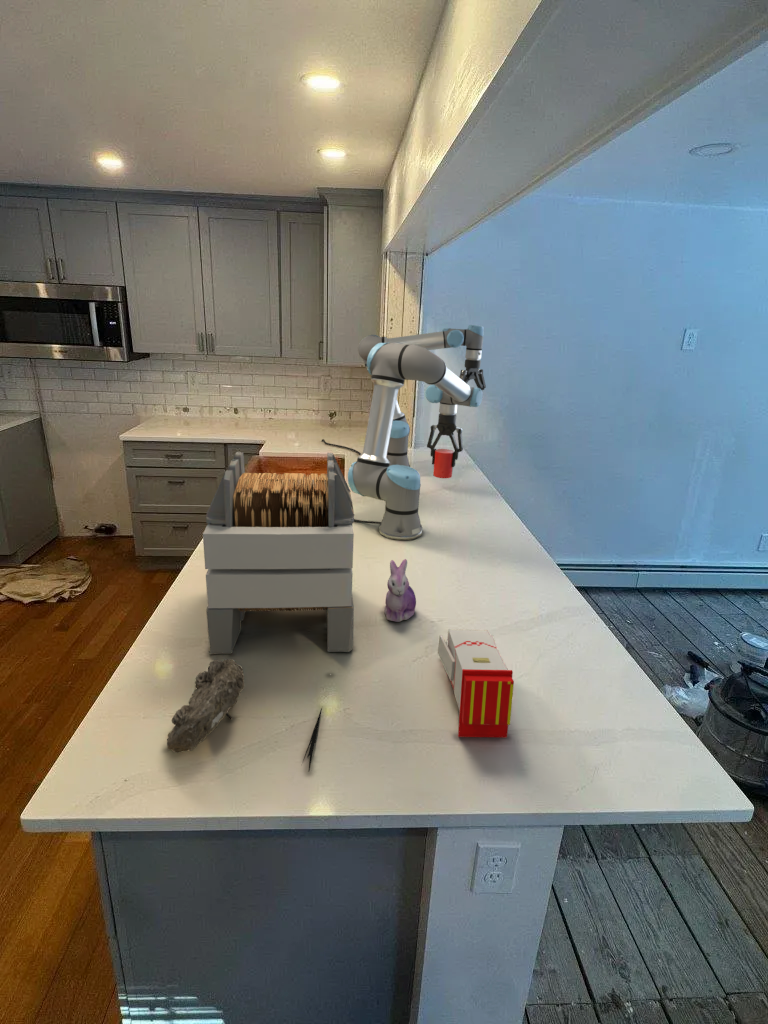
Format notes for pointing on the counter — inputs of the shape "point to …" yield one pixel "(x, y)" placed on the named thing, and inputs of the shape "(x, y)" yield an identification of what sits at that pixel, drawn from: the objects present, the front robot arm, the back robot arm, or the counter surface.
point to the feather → (313, 740)
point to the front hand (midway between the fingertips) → (443, 465)
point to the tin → (443, 463)
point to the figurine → (399, 594)
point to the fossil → (206, 705)
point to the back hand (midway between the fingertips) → (468, 404)
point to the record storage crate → (279, 550)
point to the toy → (478, 682)
